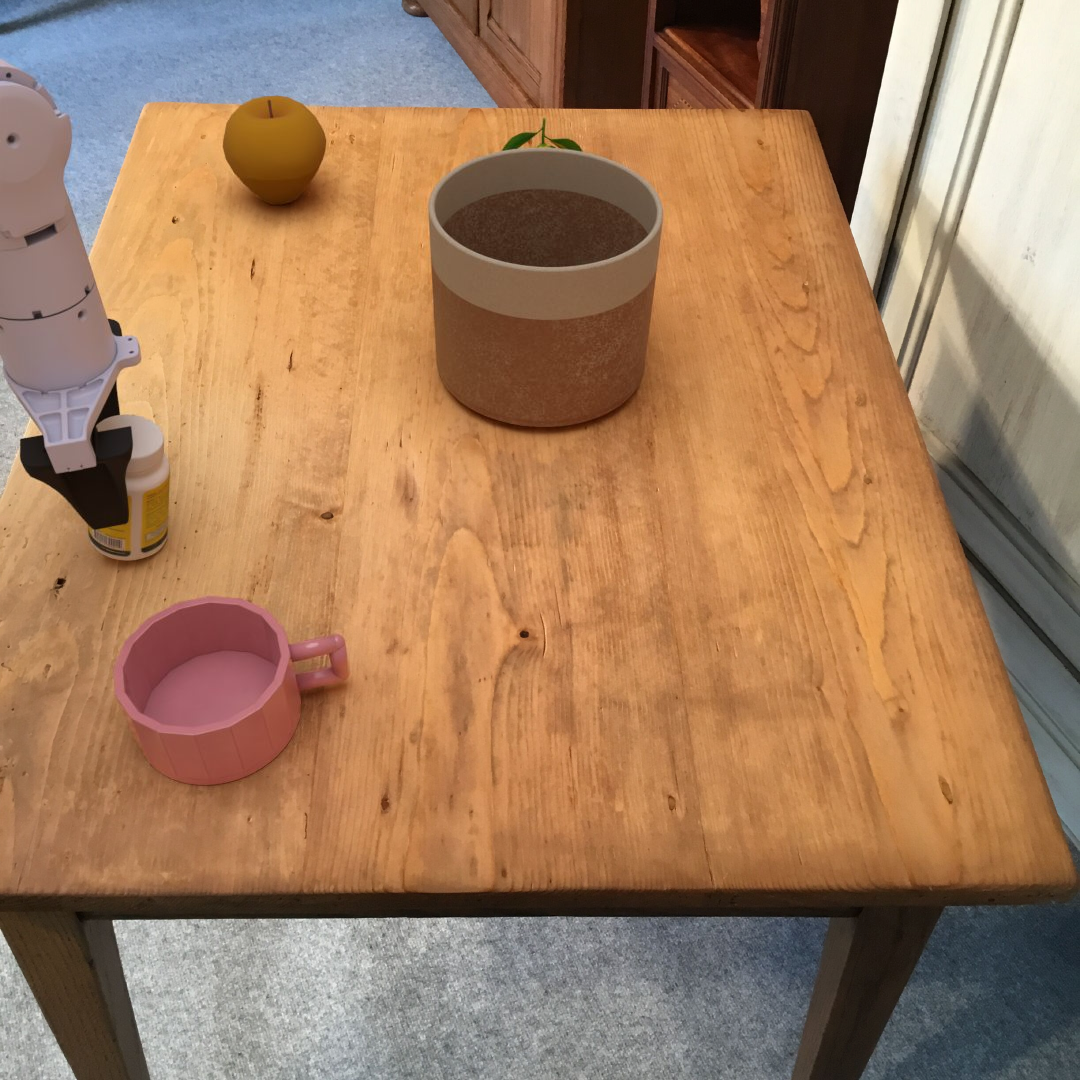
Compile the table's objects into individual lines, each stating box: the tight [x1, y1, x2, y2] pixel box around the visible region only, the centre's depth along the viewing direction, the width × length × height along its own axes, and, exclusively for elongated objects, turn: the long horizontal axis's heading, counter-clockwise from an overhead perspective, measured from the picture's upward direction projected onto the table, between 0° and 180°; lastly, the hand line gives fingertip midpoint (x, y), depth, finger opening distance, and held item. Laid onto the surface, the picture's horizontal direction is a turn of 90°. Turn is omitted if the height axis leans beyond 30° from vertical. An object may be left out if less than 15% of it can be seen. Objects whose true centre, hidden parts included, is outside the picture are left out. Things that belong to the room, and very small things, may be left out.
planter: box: [427, 147, 664, 428], centre depth 78 cm, size 16×16×14 cm
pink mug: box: [112, 595, 351, 786], centre depth 60 cm, size 12×9×5 cm
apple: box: [222, 95, 327, 206], centre depth 96 cm, size 9×9×9 cm
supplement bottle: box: [87, 414, 171, 561], centre depth 67 cm, size 5×5×8 cm
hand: (107, 478), depth 66 cm, fingers open, 7 cm apart
